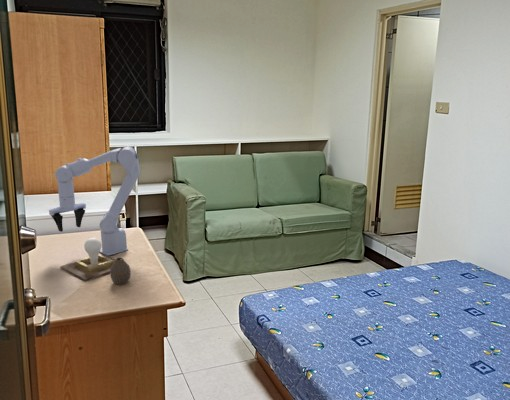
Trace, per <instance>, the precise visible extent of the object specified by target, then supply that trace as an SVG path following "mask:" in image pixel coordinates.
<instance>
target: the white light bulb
mask: <svg viewBox="0 0 510 400" xmlns="http://www.w3.org/2000/svg"><path fill="white" fill-rule="evenodd" d="M83 247H84V251H85V252H86V253H87V254H88V257H89V258H90V262H91V265H96V264H98V255H99V254H100V253H101V252H100V250H101V249H102V241H101V239H98V237H89V238H87V240H86V241H84V245H83Z"/></svg>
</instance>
